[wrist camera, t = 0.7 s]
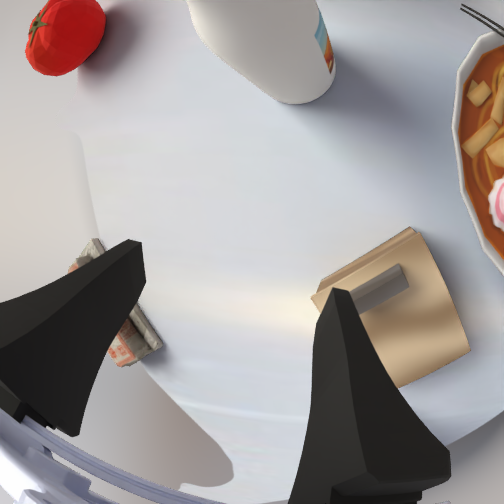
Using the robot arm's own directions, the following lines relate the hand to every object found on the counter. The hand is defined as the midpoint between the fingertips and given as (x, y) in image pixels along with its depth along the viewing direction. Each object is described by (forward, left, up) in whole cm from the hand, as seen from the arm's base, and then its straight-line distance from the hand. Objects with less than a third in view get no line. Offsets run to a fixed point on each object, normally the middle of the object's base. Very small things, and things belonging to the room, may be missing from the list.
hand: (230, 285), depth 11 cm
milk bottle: (+12, -7, -18) cm, 23 cm away
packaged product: (+5, +31, -19) cm, 36 cm away
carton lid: (-12, -2, -14) cm, 18 cm away
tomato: (+40, +10, -18) cm, 45 cm away
